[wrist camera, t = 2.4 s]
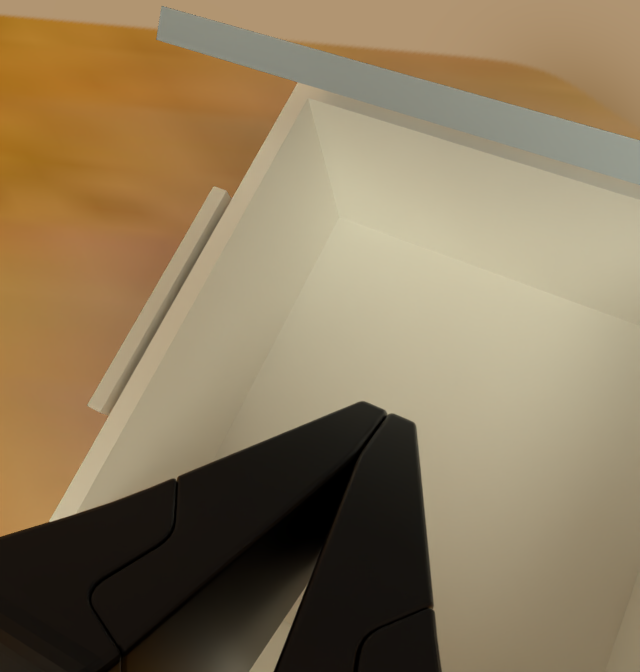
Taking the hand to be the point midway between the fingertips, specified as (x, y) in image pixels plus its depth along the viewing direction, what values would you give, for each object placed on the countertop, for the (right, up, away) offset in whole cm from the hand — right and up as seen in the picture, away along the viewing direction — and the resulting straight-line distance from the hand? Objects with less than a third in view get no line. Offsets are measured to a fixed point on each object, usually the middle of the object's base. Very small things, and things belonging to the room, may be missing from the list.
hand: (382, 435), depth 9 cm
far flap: (+3, +5, +2) cm, 6 cm away
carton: (+3, -2, +11) cm, 12 cm away
